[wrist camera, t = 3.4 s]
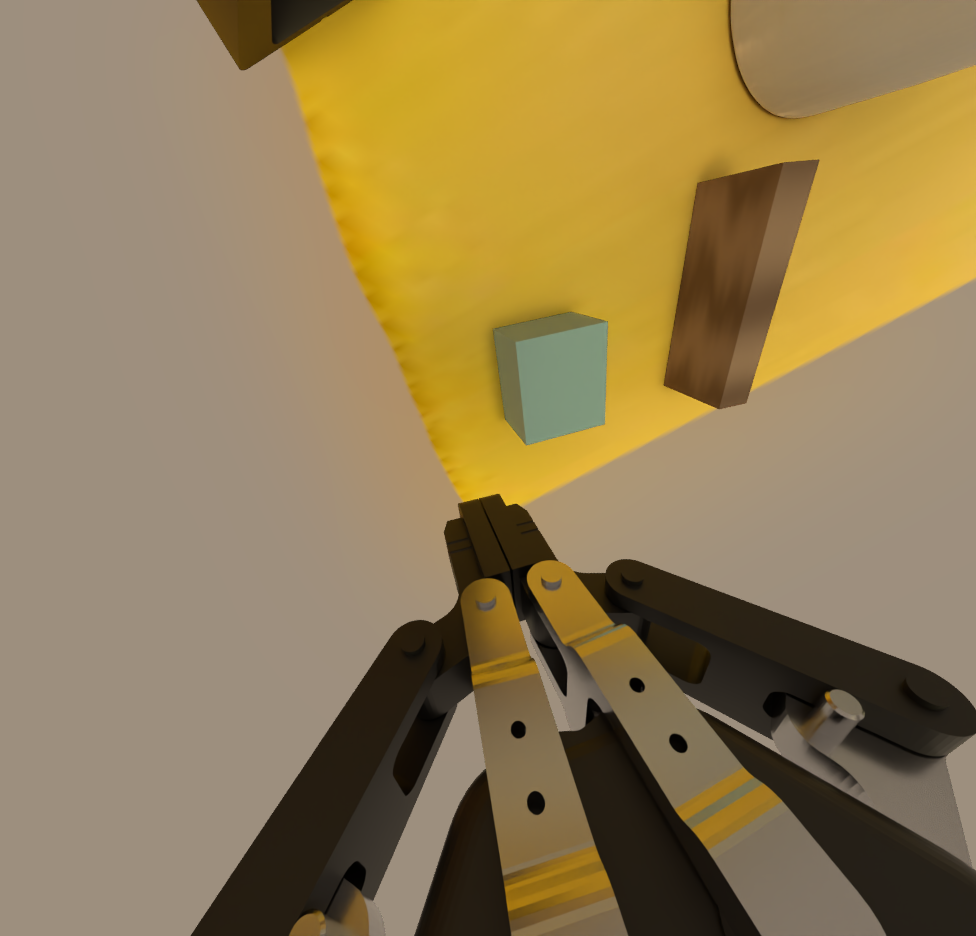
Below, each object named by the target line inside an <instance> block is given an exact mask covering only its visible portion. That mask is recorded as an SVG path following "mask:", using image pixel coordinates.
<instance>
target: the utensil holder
mask: <svg viewBox="0 0 976 936" xmlns="http://www.w3.org/2000/svg"><path fill="white" fill-rule="evenodd" d="M731 30H732V38H733V44H734V50H735V55H736V60H737V63H738V67H739V70H740V73H741V75H742V78H743V80H744V82H745V84H746V86H747V88H748V90H749V91H750V93H751V94H752V96H753V97H754V98H755V99H756V101H757V102H758V103H759V104H760V105H761V106H762V107H763V108H764V109H766V110H767V111H769V112H770V113H772V114H774V115H777V116H781V117H785V118H802V117H808V116H812V115H816V114H820V113H823V112H827V111H830V110H833V109H837V108H840V107H843V106H847V105H850V104H853V103H857V102H860V101H864V100H867V99H871V98H874V97H877V96H881V95H884V94H887V93H891V92H894V91H897V90H900V89H904V88H907V87H910V86H914V85H917V84H920V83H923V82H926V81H929V80H932V79H935V78H938V77H941V76H944V75H947V74H950V73H953V72H956V71H959V70H962V69H965V68H968V67H971V66H974V65H976V0H731Z"/></svg>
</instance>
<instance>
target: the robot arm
mask: <svg viewBox="0 0 976 936" xmlns="http://www.w3.org/2000/svg"><path fill="white" fill-rule="evenodd" d="M458 507H459V513H460V518H458V519H454V520H450V521H447V524H446V527H445V530H444V535H445V540H446V544H447V549H448V554H449V558H450V563H451V567H452V571H453V575H454V578H455V582H456V586H457V590H458V594H459V596H458V600H457V603H456V604H455V606H454V608H453V609H452V610H451V611H450V612H449V613H448V614H447V615H446V616H444V617H443V618H441V619H440V620H438V621H437V622H435V623H434V624H433V623H431V622H429V621H424V620H417V621H411V622H409V623H406V624H404V625H403V626H401V627H400V628H398V629H397V630H396V631H395V632H394V633H393V635H392V636H391V637H390V639H389V640H388V642H387V643H386V645H385V646H384V648H383V649H382V651H381V652H380V654H379V655H378V657H377V658H376V660H375V661H374V663H373V664H372V666H371V667H370V669H369V670H368V672H367V673H366V675H365V676H364V678H363V679H362V681H361V682H360V684H359V685H358V687H357V688H356V690H355V691H354V693H353V694H352V696H351V697H350V698H349V700H348V702H347V703H346V705H345V706H344V707H343V709H342V710H341V712H340V713H339V715H338V717H337V718H336V719H335V721H334V722H333V724H332V725H331V727H330V728H329V730H328V731H327V733H326V734H325V736H324V737H323V739H322V740H321V742H320V743H319V745H318V747H317V748H316V749H315V751H314V752H313V754H312V756H311V757H310V758H309V760H308V761H307V763H306V764H305V766H304V767H303V769H302V770H301V772H300V773H299V775H298V776H297V778H296V779H295V781H294V782H293V784H292V785H291V787H290V788H289V790H288V791H287V793H286V794H285V795H284V797H283V798H282V800H281V801H280V803H279V804H278V806H277V808H276V809H275V810H274V812H273V813H272V815H271V816H270V818H269V819H268V821H267V822H266V824H265V826H264V827H263V829H262V830H261V831H260V833H259V834H258V836H257V837H256V839H255V840H254V842H253V843H252V845H251V846H250V848H249V849H248V851H247V852H246V854H245V855H244V857H243V858H242V860H241V861H240V863H239V864H238V866H237V867H236V869H235V870H234V872H233V873H232V875H231V876H230V878H229V879H228V881H227V882H226V884H225V885H224V887H223V888H222V890H221V891H220V892H219V894H218V895H217V897H216V899H215V900H214V902H213V903H212V904H211V906H210V908H209V909H208V911H207V912H206V913H205V915H204V916H203V918H202V919H201V921H200V922H199V924H198V925H197V927H196V928H195V930H194V932H193V933H192V934H191V936H385V928H384V922H383V918H382V915H381V913H380V911H379V909H378V907H377V906H376V904H375V903H374V902H373V900H374V897H375V895H376V893H377V890H378V888H379V886H380V884H381V881H382V879H383V877H384V874H385V872H386V870H387V867H388V865H389V863H390V860H391V858H392V856H393V854H394V851H395V849H396V846H397V844H398V842H399V840H400V837H401V835H402V833H403V830H404V828H405V826H406V824H407V821H408V819H409V817H410V814H411V812H412V809H413V807H414V805H415V803H416V800H417V798H418V796H419V794H420V791H421V789H422V787H423V784H424V782H425V780H426V777H427V775H428V773H429V770H430V768H431V766H432V763H433V761H434V758H435V756H436V754H437V752H438V750H439V747H440V745H441V743H442V740H443V738H444V736H445V733H446V731H447V729H448V727H449V724H450V722H451V719H452V717H453V715H454V713H455V710H456V707H457V703H458V702H460V701H461V700H462V699H464V698H465V697H466V696H467V695H468V694H470V693H471V692H473V691H474V695H475V702H476V708H477V715H478V721H479V727H480V734H481V740H482V746H483V753H484V758H485V765H486V769H485V770H484V771H483V772H482V773H481V774H480V775H479V776H478V777H477V778H476V779H475V780H474V782H473V783H472V784H471V786H470V787H469V788H468V790H467V791H466V793H465V795H464V797H463V799H462V800H461V802H460V804H459V806H458V808H457V811H456V813H455V815H454V817H453V820H452V823H451V825H450V828H449V831H448V835H447V838H446V841H445V844H444V847H443V850H442V853H441V856H440V859H439V862H438V865H437V868H436V872H435V874H434V877H433V881H432V884H431V886H430V890H429V893H428V896H427V899H426V902H425V905H424V908H423V911H422V914H421V917H420V920H419V923H418V926H417V929H416V932H415V935H414V936H976V870H974V869H973V868H972V865H971V860H970V856H969V853H968V848H967V844H966V840H965V836H964V832H963V828H962V824H961V821H960V816H959V812H958V808H957V804H956V801H955V797H954V793H953V789H952V785H951V781H950V777H949V773H948V769H947V765H946V756H947V755H948V754H949V753H951V752H952V751H953V750H954V749H956V748H957V747H959V746H960V745H961V744H963V743H964V742H965V741H967V740H968V739H969V738H971V737H972V736H973V735H974V734H976V710H975V708H974V706H973V705H972V704H971V703H970V701H969V700H968V699H967V698H966V697H965V696H964V695H963V694H962V693H961V692H960V691H959V690H958V689H957V688H955V687H954V686H953V685H951V684H950V683H949V682H947V681H946V680H944V679H943V678H941V677H940V676H938V675H936V674H935V673H933V672H931V671H929V670H927V669H925V668H923V667H920V666H918V665H915V664H912V663H910V662H907V661H905V660H902V659H899V658H896V657H894V656H891V655H888V654H886V653H883V652H880V651H878V650H875V649H872V648H869V647H867V646H864V645H862V644H859V643H856V642H854V641H851V640H848V639H846V638H843V637H840V636H838V635H835V634H832V633H829V632H827V631H824V630H821V629H819V628H816V627H813V626H811V625H808V624H805V623H803V622H800V621H797V620H794V619H792V618H789V617H787V616H784V615H781V614H779V613H776V612H773V611H770V610H768V609H765V608H762V607H760V606H757V605H754V604H752V603H749V602H746V601H744V600H741V599H738V598H736V597H733V596H730V595H728V594H725V593H722V592H719V591H717V590H714V589H711V588H709V587H706V586H703V585H700V584H698V583H695V582H693V581H690V580H687V579H685V578H682V577H679V576H676V575H674V574H671V573H668V572H666V571H663V570H660V569H658V568H655V567H652V566H650V565H647V564H644V563H642V562H639V561H636V560H630V559H623V560H618V561H615V562H613V563H611V564H610V565H609V566H608V568H607V570H606V573H579V572H575V571H573V570H572V569H571V568H570V567H569V566H567V565H566V564H564V563H561V562H559V561H558V560H557V559H556V557H555V555H554V554H553V552H552V550H551V549H550V547H549V546H548V544H547V542H546V541H545V539H544V538H543V536H542V534H541V533H540V531H539V530H538V528H537V526H536V525H535V523H534V522H533V520H532V518H531V516H530V515H529V513H528V512H527V510H525V509H523V508H522V507H521V506H519V505H518V504H513V505H509V506H506V505H505V503H504V501H503V500H502V498H501V496H500V494H495V495H491V496H487V497H483V498H479V500H478V499H475V500H471V501H467V502H463V503H459V504H458ZM523 620H526V622H527V624H528V626H529V629H530V638H531V643H532V645H533V647H534V649H535V651H536V653H537V655H538V657H539V659H540V661H541V663H542V665H543V667H544V669H545V671H546V673H547V675H548V676H549V679H550V681H551V682H552V685H553V687H554V689H555V691H556V692H557V694H558V696H559V698H560V700H561V703H562V705H563V708H564V710H565V714H566V718H567V721H568V724H569V727H570V730H571V731H562V732H558V729H557V726H556V723H555V720H554V716H553V713H552V710H551V707H550V704H549V701H548V698H547V695H546V692H545V689H544V686H543V682H542V680H541V676H540V673H539V671H538V667H537V665H536V662H535V660H534V659H533V658H531V656H530V654H529V651H528V648H527V645H526V641H525V638H524V635H523V632H522V629H521V625H520V623H519V622H520V621H523ZM684 693H685V694H687V695H689V696H691V697H693V698H694V699H696V700H698V701H700V702H702V703H704V704H706V705H708V706H710V707H711V708H713V709H715V710H717V711H719V712H721V713H723V714H725V715H727V716H729V717H730V718H732V719H734V720H736V721H738V722H740V723H741V724H743V725H745V726H747V727H749V728H751V729H753V730H755V731H757V732H758V733H760V734H762V735H764V736H766V737H768V738H770V739H772V740H773V741H774V743H775V745H776V747H777V748H778V750H779V751H780V753H781V755H779V754H778V753H776V752H774V751H772V750H771V749H769V748H767V747H765V746H764V745H762V744H760V743H759V742H757V741H755V740H753V739H752V738H750V737H748V736H746V735H745V734H743V733H741V732H739V731H738V730H736V729H734V728H733V727H731V726H729V725H727V724H725V723H724V722H722V721H720V720H719V719H717V718H715V717H713V716H711V715H710V714H708V713H706V712H703V711H701V710H699V709H697V708H695V707H694V705H693V704H692V703H691V702H690V701H689V699H688V698H687V697H686V695H685V694H684Z"/></svg>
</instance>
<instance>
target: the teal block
mask: <svg viewBox="0 0 976 936" xmlns="http://www.w3.org/2000/svg"><path fill="white" fill-rule="evenodd" d="M493 333H494V340H495V348H496V355H497V362H498V370H499V377H500V385H501V392H502V399H503V407H504V414H505V420H506V421H507V422H508V423H509V425H510V426H511V427H512V428H513V430H514V431H515V432H516V433H517V434H518V436H519V437H520V438H521V439H522V441H523V442H524V443H525V444H526V445H530V444H533V443H537V442H541V441H544V440H548V439H552V438H556V437H559V436H563V435H567V434H570V433H574V432H578V431H581V430H585V429H589V428H592V427H596V426H600V425H604V424H605V400H606V367H607V334H608V321H604V320H600V319H596V318H593V317H589V316H585V315H581V314H578V313H574V312H568V313H564V314H559V315H555V316H550V317H545V318H541V319H536V320H532V321H527V322H522V323H518V324H513V325H509V326H504V327H499V328H495V329H493Z"/></svg>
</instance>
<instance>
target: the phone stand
mask: <svg viewBox="0 0 976 936" xmlns="http://www.w3.org/2000/svg"><path fill="white" fill-rule="evenodd" d="M351 1H352V0H197V2H198V3H199V5H200V7H201V8H202V10H203V11H204V13H205V15H206V16H207V18H208V19H209V21H210V23H211V24H212V26H213V27H214V29H215V31H216V32H217V34H218V35H219V37H220V38H221V40H222V42H223V43H224V45H225V47H226V48H227V50H228V51H229V53H230V55H231V56H232V58H233V59H234V61H235V63H236V64H237V66H238V67H239V69H240V70H246V69H248V68H250V67H251V66H253V65H254V64H256V63H258V62H259V61H261V60H262V59H264V58H265V57H267V56H268V55H270V54H271V53H273V52H274V51H276V50H278V49H279V48H280V47H282V46H283V45H285V44H287V43H288V42H290V41H291V40H293V39H294V38H296V37H297V36H299V35H300V34H302V33H303V32H305V31H306V30H308V29H310V28H311V27H313V26H314V25H316V24H317V23H319V22H320V21H321V19H322V18H323V17H324V16H329V15H331V14H333V13H334V12H336V11H337V10H339V9H340V8H342V7H343V6H345V5H346V4H348V3H349V2H351Z"/></svg>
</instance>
